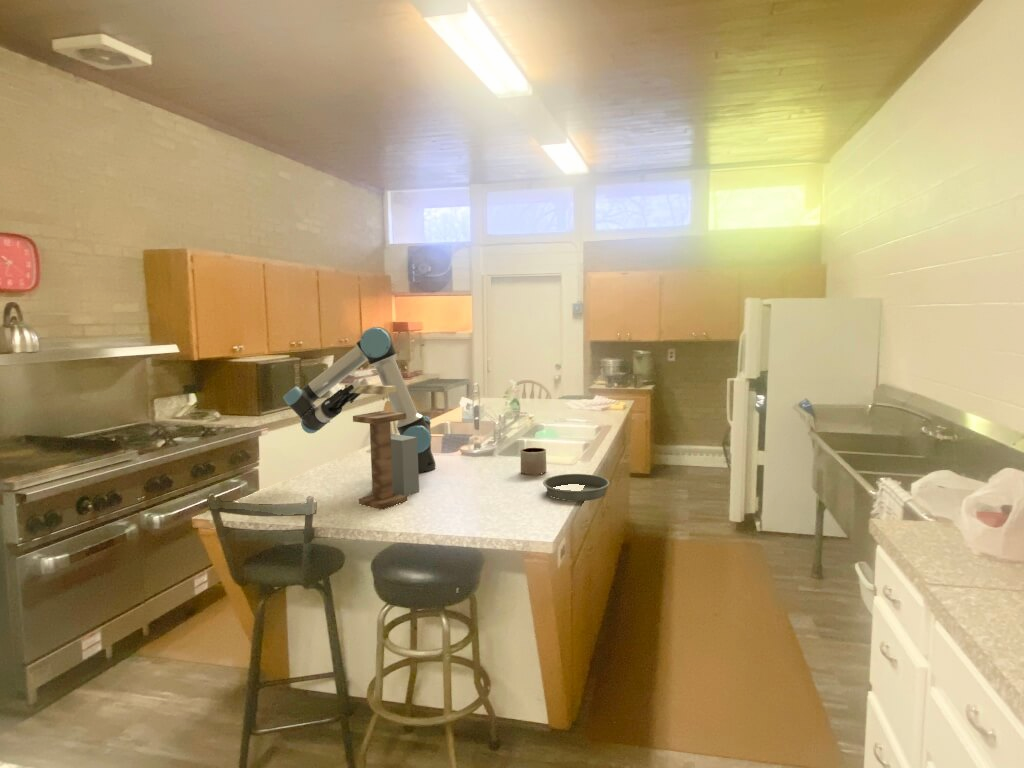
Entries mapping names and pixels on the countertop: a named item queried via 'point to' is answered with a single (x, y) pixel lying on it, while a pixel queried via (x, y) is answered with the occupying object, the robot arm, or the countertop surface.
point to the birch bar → (375, 389)
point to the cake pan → (591, 490)
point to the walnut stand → (381, 459)
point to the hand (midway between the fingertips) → (362, 381)
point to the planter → (533, 460)
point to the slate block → (404, 464)
